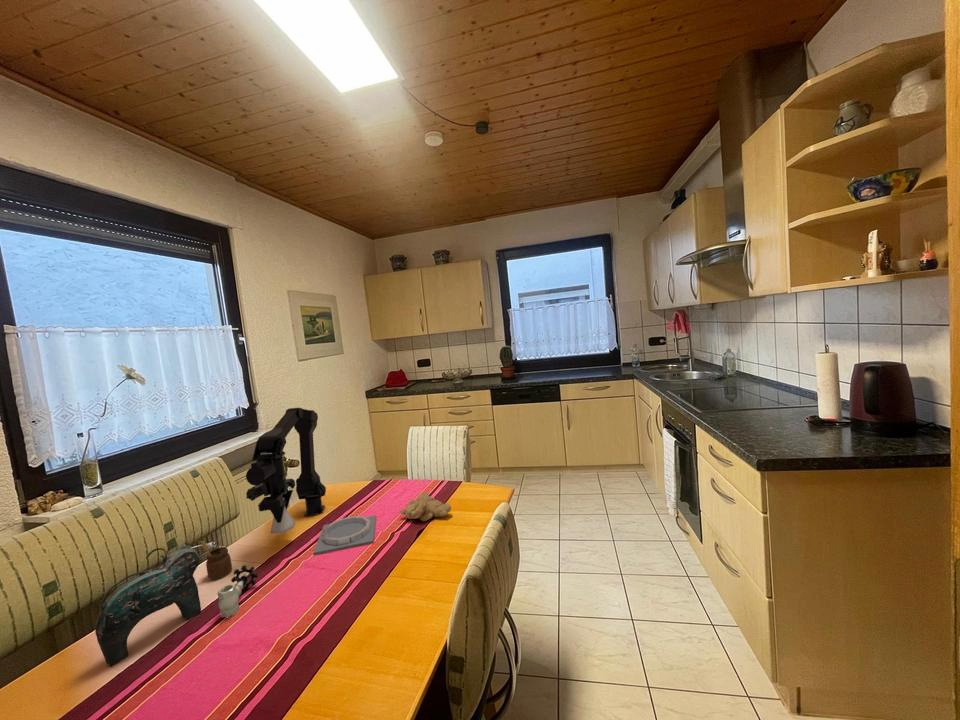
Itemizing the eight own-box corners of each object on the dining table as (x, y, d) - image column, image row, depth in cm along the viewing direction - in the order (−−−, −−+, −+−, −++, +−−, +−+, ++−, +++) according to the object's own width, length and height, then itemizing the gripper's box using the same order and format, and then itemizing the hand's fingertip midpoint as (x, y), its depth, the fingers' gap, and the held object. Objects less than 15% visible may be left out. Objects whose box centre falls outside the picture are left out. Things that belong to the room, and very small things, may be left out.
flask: (299, 522, 130) (295, 494, 129) (286, 534, 123) (282, 504, 122) (279, 523, 131) (275, 495, 130) (265, 535, 124) (261, 505, 123)
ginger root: (395, 510, 141) (398, 489, 141) (436, 508, 148) (439, 488, 148) (406, 530, 127) (409, 506, 127) (450, 527, 134) (454, 504, 134)
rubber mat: (324, 527, 136) (323, 525, 136) (376, 517, 140) (376, 515, 140) (313, 555, 119) (313, 552, 119) (373, 543, 122) (373, 540, 122)
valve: (240, 616, 95) (260, 585, 106) (237, 591, 94) (257, 562, 106) (211, 622, 94) (234, 590, 105) (207, 596, 93) (231, 567, 105)
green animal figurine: (200, 602, 101) (188, 530, 100) (212, 609, 98) (200, 534, 96) (98, 662, 84) (82, 576, 83) (109, 673, 81) (92, 583, 79)
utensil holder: (236, 569, 115) (231, 531, 114) (215, 583, 109) (208, 542, 108) (224, 566, 117) (218, 528, 116) (202, 579, 112) (196, 539, 111)
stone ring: (327, 526, 135) (326, 521, 135) (371, 517, 138) (371, 512, 138) (318, 549, 120) (318, 543, 120) (369, 539, 123) (368, 534, 123)
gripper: (257, 467, 133) (264, 510, 134) (236, 488, 114) (243, 538, 116) (292, 462, 135) (298, 504, 136) (276, 481, 117) (283, 530, 118)
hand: (281, 518), depth 126 cm, fingers closed on flask, 5 cm apart
